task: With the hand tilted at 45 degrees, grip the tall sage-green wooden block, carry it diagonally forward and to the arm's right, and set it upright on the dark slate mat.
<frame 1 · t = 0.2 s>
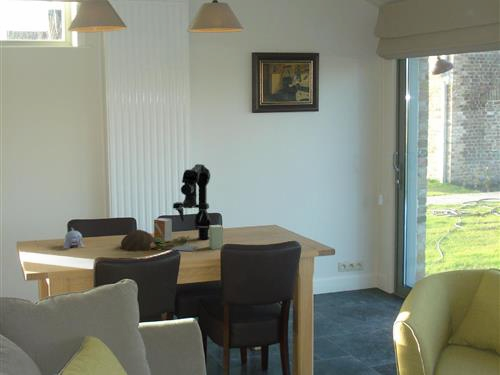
hand: (191, 221, 395), 15 cm above the table, tool pointing down, fingers open, 9 cm apart
slate mat: (184, 248, 396), on the table
decorative dome: (138, 248, 399), on the table
sage block: (215, 247, 400), on the table
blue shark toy: (73, 247, 399), on the table
small box: (162, 242, 414), on the table
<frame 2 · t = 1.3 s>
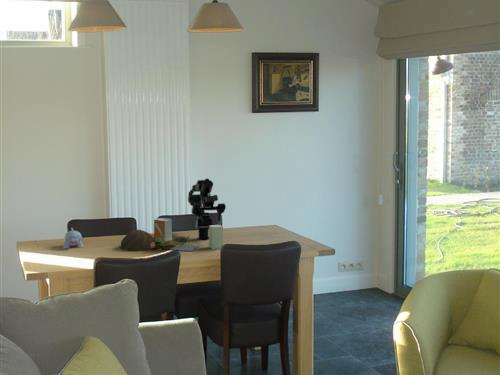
hand: (211, 221, 406), 13 cm above the table, tool tilted 45°, fingers open, 9 cm apart
nothing on the table moved.
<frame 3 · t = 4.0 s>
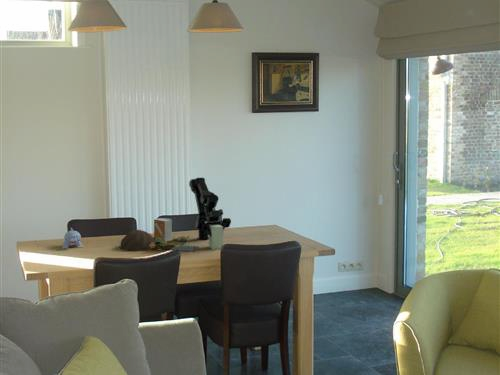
hand: (216, 236, 398), 7 cm above the table, tool tilted 45°, fingers closed on sage block, 6 cm apart
sage block: (215, 247, 400), on the table, touching gripper
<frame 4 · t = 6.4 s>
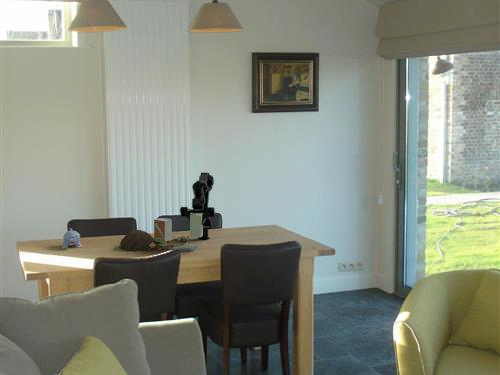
hand: (196, 224, 393), 14 cm above the table, tool tilted 45°, fingers closed on sage block, 6 cm apart
sage block: (196, 236, 395), point 7 cm above the table, touching gripper
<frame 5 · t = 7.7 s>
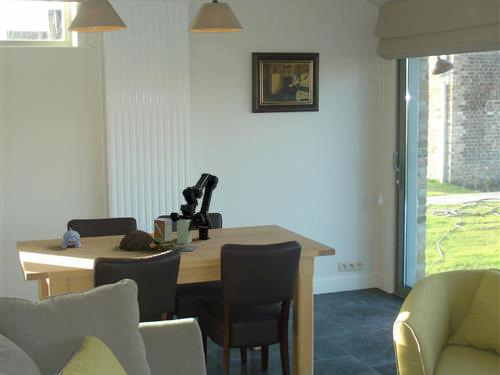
hand: (183, 230, 394), 10 cm above the table, tool tilted 45°, fingers closed on sage block, 6 cm apart
sage block: (184, 242, 396), point 4 cm above the table, touching gripper
when the fingers open (9 cm above the table, at t = 8.9 s): sage block drops 1 cm, resting on slate mat.
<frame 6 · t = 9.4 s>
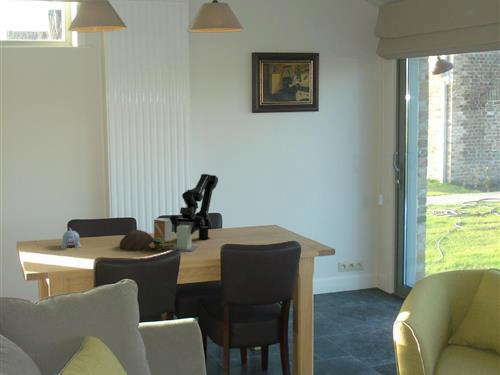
hand: (183, 233, 394), 9 cm above the table, tool tilted 45°, fingers open, 9 cm apart
sage block: (184, 247, 396), point 1 cm above the table, touching slate mat
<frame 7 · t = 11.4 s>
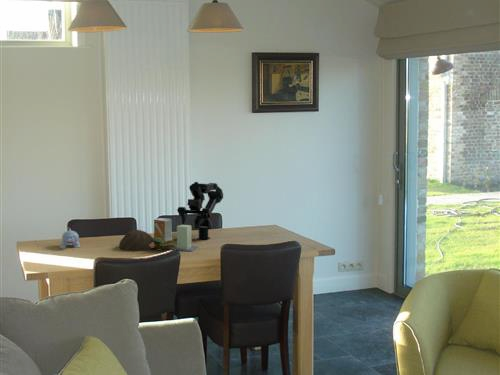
hand: (190, 224, 403), 12 cm above the table, tool tilted 45°, fingers open, 9 cm apart
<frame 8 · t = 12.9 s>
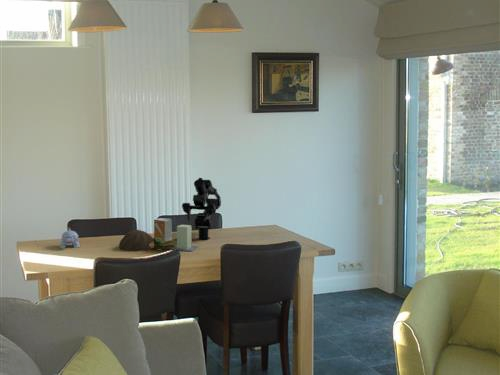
hand: (196, 220, 407), 14 cm above the table, tool tilted 45°, fingers open, 9 cm apart
at the end: sage block inside the target area on the slate mat (0.0 cm from its centre), point 0.6 cm above the slate mat's base; sage block tilted 0°; the gripper is holding nothing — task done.
